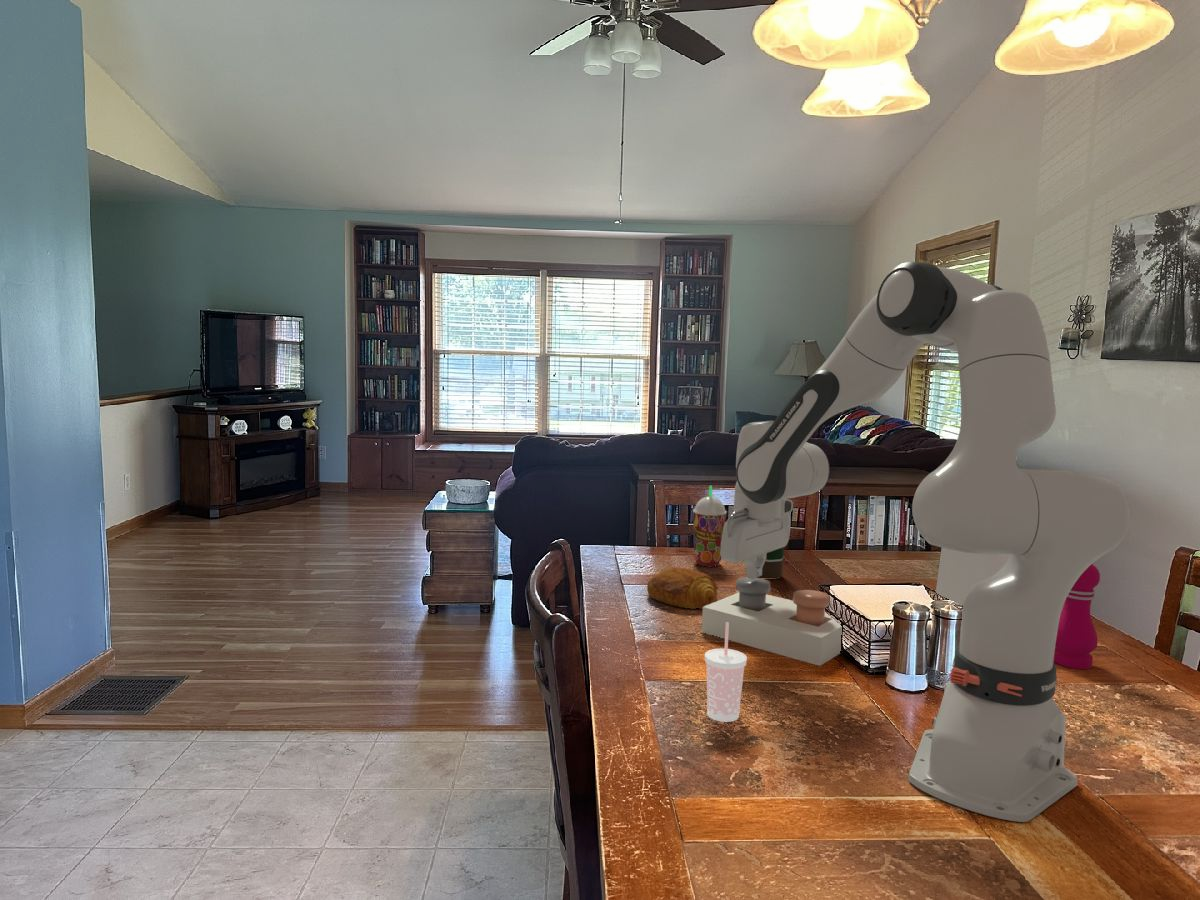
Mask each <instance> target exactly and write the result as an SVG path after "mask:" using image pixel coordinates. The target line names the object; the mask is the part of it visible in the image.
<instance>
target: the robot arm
mask: <svg viewBox="0 0 1200 900" xmlns="http://www.w3.org/2000/svg"><path fill="white" fill-rule="evenodd" d="M1038 311H1039V310H1038V309H1037V306H1036V304H1035V302H1034V301H1033V300H1032V298H1030V297H1029V296H1028V295H1027V294H1025V293H1022V292H1020V291H1017V290H1011V289H1009V290H1008V289H1003V288H1001V287H999V286H997V285H995V284H989V283H987V282H986V281H983V280H981V279H979V278H976V277H973V276H971V275H970V274H967V273H966V272H964V271H963V272H962V271H959V270H956V269H951V268H948V267H942V266H936V265H935V264H933V263H931V262H926V261H907V262H902V263H900V264H899V265H896V266H895V267H893V269H891V270H890V271H889V272H888V273H887V274H886V276H885V278H884V279H883V281H882V282H881V284H880V286H879V288H878V291H877V293H876V294H875V295H874V296H873V297H872V298H871V299H870V301H868V303H867V304H866V305H865V306H864V308H863V309H862V310H861V311H860V312H859V313H858V315H857V316H856V318H855V319H854V320H853V322H852V323H851V325H850V326H849V328H848V330H847V331H846V332H845V334H844V335H843V337H842V339H841V340H840V341H839V343H838V345H837V346H836V347H835V348H834V350H833V351H832V352H831V354H830V355H829V356H828V358H827V359H826V360H825V361H824V362H823V364H822V365H821V366H820V367H818V369H817V370H816V371H815V372H814V373H813V374H812V375H810V376H809V378H808V379H807V380H806V381H805V382H804V383H803V384H802V385H801V386H800V387H799V389H798V390H797V391H796V392H795V393H794V395H793V396H792V397H791V399H789V401H788V403H786V405H785V407H784V408H783V409H782V411H781V412H780V413H779V414H778V415H777V417H776V418H775V420H764V421H753V422H749V423H746V424H745V425H743V426H742V427H741V429H740V431H739V435H738V441H737V447H736V455H735V457H736V458H735V468H736V470H735V476H736V483H735V486H734V496H733V497H734V502H733V512H731V513H730V516H729V518H728V519H727V520H726V521H725V525H724V528H723V533H722V540H721V550H720V555H721V561H724V562H727V563H732V564H740V563H741V562H743V563H744V566H745V569H746V573H745V577H747V578H751V579H754V578H756V577H759V576H761V575H762V567H763V565H764V563H765V560H766V555H767V553H768V552H771V551H774V550H776V549H779V548H782V547H784V548H785V547H786V546H787V545H788V543H789V540H790V533H791V525H792V524H791V523H792V522H791V520H792V519H791V518H792V517H791V512H792V511H793V510H794V502H793V501H792V500H791V499H792V498H793V499H794V498H797V497H804V496H809V495H813V494H815V493H818V492H820V491H822V490H823V489H824V488H825V486H826V485H827V484H828V483H827V482H828V481H829V478H830V474H831V472H830V471H831V469H830V468H831V467H830V462H829V458H828V455H827V454H826V453H825V451H824V450H823V449H822V448H821V447H820V446H818V445H816V444H814V443H810V442H807V441H809V439H810V438H811V437H812V435H813V434H814V433H815V431H816V430H817V429H818V427H820V426H821V425H822V424H823V423H824V422H826V421H827V420H828V419H830V418H832V417H834V416H835V415H837V414H840V413H843V412H845V411H847V410H850V409H853V408H855V407H858V406H862V405H865V404H868V403H871V402H874V401H876V400H878V399H880V398H881V397H882V396H883V395H885V393H888V391H889V390H890V389H891V388H892V387H893V386H894V385H895V384H896V383H897V382H898V380H899V379H900V377H901V376H902V375H903V373H904V372H905V370H906V369H907V367H908V366H909V364H910V363H911V361H912V360H913V358H914V357H915V354H916V353H917V352H918V351H919V349H920V348H921V347H922V346H924V345H926V344H929V345H931V346H933V347H935V348H940V349H943V350H950V351H953V352H957V355H958V356H957V357H958V358H957V359H958V361H957V362H958V373H959V374H958V375H959V376H958V377H959V378H958V379H959V387H960V388H959V389H960V426H959V427H960V428H959V431H958V432H959V434H958V436H957V439H956V443H955V445H954V446H953V449H951V450H952V451H951V452H950V453H949V455H948V456H947V458H945V460H944V461H943V462H942V463H941V464H940V465H939V466H938V467H937V468H936V469H934V470H933V471H931V472H930V473H928V474H927V475H926V476H925V477H924V478H923V479H922V480H921V482H920V483H919V485H918V486H917V488H916V490H915V493H914V496H913V499H912V505H911V506H912V509H911V510H912V511H911V512H912V518H913V522H914V524H915V526H916V527H915V528H916V529H917V530H918V532H919V534H920V536H921V537H922V538H923V539H924V540H925V541H926V542H927V543H928V544H929V545H930V546H931V545H932V546H935V547H939V548H941V549H942V548H946V549H950V550H955V551H959V552H964V553H981V554H1010V556H1009V559H1008V561H1007V562H1006V564H1005V565H1004V566H1003V567H1002V568H1001V570H1000V571H999V572H997V573H996V574H995V575H993V576H991V577H989V578H987V579H985V580H983V581H980V582H978V583H977V584H975V585H974V586H973V587H972V588H971V589H970V590H969V591H968V593H967V594H966V596H965V598H964V601H963V609H962V621H961V627H960V634H959V635H960V636H959V645H958V647H957V649H956V650H955V654H954V657H953V660H952V668H951V670H950V675H949V680H948V681H947V682H945V683H944V690H943V691H944V693H943V696H942V700H941V703H940V707H939V709H938V713H937V717H936V716H934V717H933V719H932V721H931V722H932V727H933V729H932V728H930V729H925V730H924V732H923V734H922V737H921V740H920V742H919V745H918V748H917V751H916V754H915V756H914V758H913V762H912V764H911V767H910V770H909V774H908V777H907V779H908V782H909V783H910V784H912V785H913V786H914V787H916V788H917V789H919V790H921V791H923V792H924V793H926V794H928V795H930V796H932V797H934V798H937V799H939V800H941V801H944V802H945V803H946V802H947V803H948V804H951V805H954V806H957V807H960V808H961V809H965V810H967V811H970V812H973V813H974V812H975V813H976V814H977V813H978V814H981V815H984V816H988V817H991V818H995V819H1000V820H1004V821H1005V820H1006V821H1011V822H1017V823H1018V822H1019V823H1027V822H1029V821H1031V820H1033V819H1034V818H1036V817H1037V816H1039V814H1040V813H1042V812H1043V811H1045V810H1046V809H1047V808H1049V807H1050V806H1052V805H1053V804H1054V803H1056V802H1057V801H1058V800H1060V799H1061V798H1062V797H1063V796H1065V795H1066V794H1067V793H1069V792H1070V791H1071V790H1074V789H1075V788H1076V787H1077V786H1078V777H1077V775H1076V774H1075V773H1074V772H1072V771H1071V770H1070V769H1068V768H1066V767H1065V766H1064V764H1065V763H1064V760H1065V747H1066V745H1065V744H1066V743H1065V741H1066V720H1067V718H1066V715H1065V714H1064V713H1063V711H1062V710H1061V709H1060V708H1059V706H1058V705H1057V703H1056V701H1055V700H1054V696H1055V693H1056V685H1057V681H1058V676H1057V666H1056V665H1055V664H1056V663H1055V662H1053V661H1054V652H1055V648H1056V647H1055V644H1056V637H1057V631H1058V625H1059V619H1060V614H1061V612H1062V609H1063V605H1064V602H1065V600H1066V597H1067V596H1068V594H1069V592H1070V590H1071V588H1072V587H1073V585H1074V584H1075V582H1076V581H1077V580H1078V578H1079V577H1080V576H1081V574H1082V573H1083V572H1084V571H1085V570H1086V569H1087V568H1088V567H1089V566H1090V565H1091V564H1094V563H1095V562H1096V561H1097V560H1099V559H1100V558H1102V557H1103V556H1104V555H1106V554H1108V553H1110V552H1112V551H1113V550H1115V549H1116V548H1117V547H1118V546H1119V545H1120V544H1121V542H1123V539H1124V538H1125V536H1126V534H1127V532H1128V530H1129V525H1130V519H1131V518H1130V515H1131V514H1130V507H1129V503H1128V501H1127V498H1126V496H1125V494H1124V493H1123V491H1122V490H1121V488H1120V487H1119V486H1118V485H1117V484H1116V483H1115V482H1114V481H1113V480H1111V479H1108V478H1106V477H1101V476H1097V475H1093V474H1088V473H1083V472H1079V471H1074V470H1054V469H1053V470H1052V469H1028V468H1026V469H1023V468H1021V467H1020V468H1018V464H1017V454H1018V453H1017V452H1018V450H1019V448H1022V447H1023V446H1026V445H1029V444H1031V443H1032V442H1034V441H1036V440H1038V439H1039V438H1041V437H1042V436H1044V435H1045V434H1047V432H1048V431H1049V430H1050V429H1051V427H1052V425H1053V424H1054V422H1055V418H1056V415H1057V408H1056V399H1055V392H1054V384H1053V374H1052V365H1051V360H1050V352H1049V346H1048V342H1047V338H1046V334H1045V329H1044V326H1043V323H1042V319H1041V317H1040V314H1039V312H1038Z"/></svg>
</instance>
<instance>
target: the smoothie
mask: <svg viewBox="0 0 1200 900" xmlns="http://www.w3.org/2000/svg"><path fill="white" fill-rule="evenodd" d="M708 488H709V491H708V493H709V494H708V495H707V496H704V497H702V498H700V499H699V500H698V501H697V502H696V505H695V507H694V508H693V509H692V512H693V513H692V516H693V517H692V518H693V520H692V521H693V522H692V523H693V557H694V560H695V564H696V563H697V564H696V565H698V564H699V565H698V566H700V565H704V566H715V565H718V564H719V565H720V563H721V561H722V558H721V555H720V550H721V540H722V533H723V528H724V525H725V523H726V521H727V520H726V519H727V513H728V511H727V510H726V508H725V505H724V503H723V502H722V501H721V500H720V499H719V498H717V497H716V496H713V485H709V487H708ZM719 565H718V566H719ZM704 566H703V567H704ZM715 567H716V566H715Z"/></svg>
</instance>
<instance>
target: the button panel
mask: <svg viewBox="0 0 1200 900" xmlns="http://www.w3.org/2000/svg"><path fill="white" fill-rule="evenodd" d="M796 610H797V605H796V604H795V603H794V602H793V599H792V600H791V599H787V598H783V597H779V596H775V595H770V594H766V604H765V609H763V610H761V611H754V610H750V609H746V608H742V607H739V592H737V593H734V594H732V595H729V596H727V597H724V598H722V599H718V600H716V602H714V603H711V604H709V605H706V606H704V607H703V609H702V618H701V619H702V621H701V622H702V623H701V633H702V634H705V633H706V634H705V635H708V636H712V635H714V636H713V637H716V636H717V637H716V638H719V637H720V638H719V639H723V638H724V639H723V640H725V627H726V622H729V633H728V641H730V640H731V642H733V643H738V644H741V645H744V646H748V647H750V648H751V647H752V648H755V649H759V650H762V651H766V652H769V653H773V654H777V655H779V656H783V657H787V658H791V659H794V660H797V661H801V662H805V663H807V664H808V663H809V664H811V665H815V666H819V667H821V666H822V665H824V664H826V663H827V662H829V661H831V660H832V659H833V658H835V657H837V656H838V655H841V653H840V651H841V635H842V626H841V625H840V624H839V623H837V622H836V621H835V620H834V619H833V618H831V616H829V615H828V614H827V613H826V612H825V617H824V624H822V625H820V626H819V627H817V626H814V625H810V624H806V623H802V622H798V621H796Z"/></svg>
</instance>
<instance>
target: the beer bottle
mask: <svg viewBox="0 0 1200 900" xmlns="http://www.w3.org/2000/svg"><path fill="white" fill-rule="evenodd" d="M784 553H785V547H782V548H779V549H776V550H774V551H771V552H768V553H767V555H766V560H765V563H764V565H763V567H762V575H761V576H759V577H757V578H778V577H780V576H781V575H782V576H783V570H784ZM782 576H781V577H782ZM781 577H780V578H781Z"/></svg>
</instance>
